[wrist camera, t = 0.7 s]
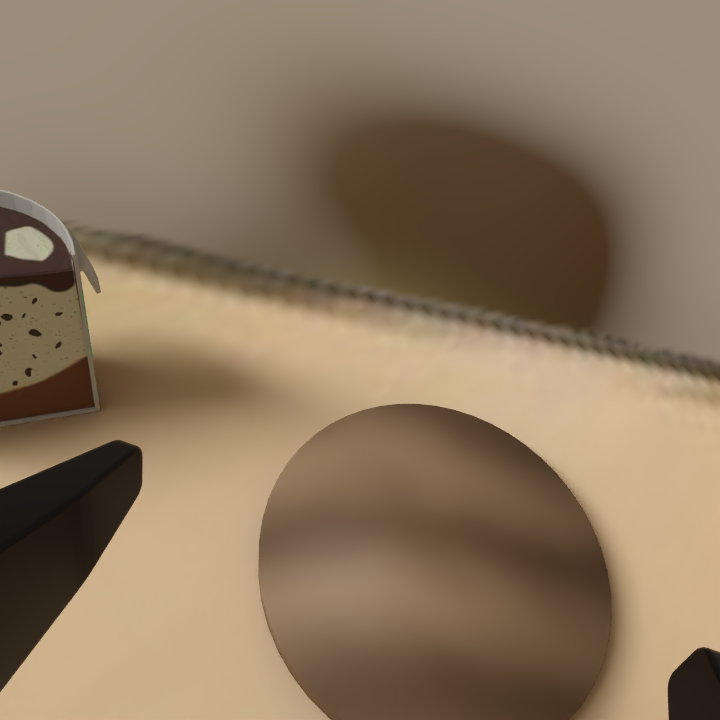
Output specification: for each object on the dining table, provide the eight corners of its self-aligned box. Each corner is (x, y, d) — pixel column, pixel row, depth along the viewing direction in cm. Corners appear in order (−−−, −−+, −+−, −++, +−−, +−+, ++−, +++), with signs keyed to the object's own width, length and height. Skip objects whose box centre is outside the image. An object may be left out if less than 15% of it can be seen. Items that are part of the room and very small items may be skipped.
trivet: (654, 759, 22) (671, 755, 21) (240, 774, 19) (240, 771, 18) (545, 423, 32) (554, 411, 31) (270, 409, 30) (271, 395, 29)
